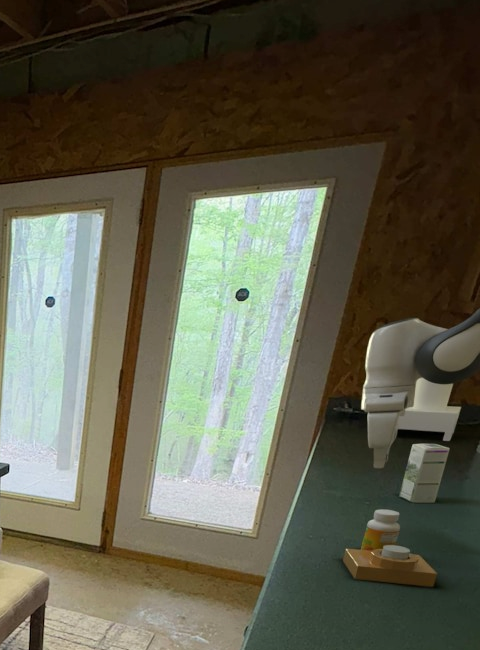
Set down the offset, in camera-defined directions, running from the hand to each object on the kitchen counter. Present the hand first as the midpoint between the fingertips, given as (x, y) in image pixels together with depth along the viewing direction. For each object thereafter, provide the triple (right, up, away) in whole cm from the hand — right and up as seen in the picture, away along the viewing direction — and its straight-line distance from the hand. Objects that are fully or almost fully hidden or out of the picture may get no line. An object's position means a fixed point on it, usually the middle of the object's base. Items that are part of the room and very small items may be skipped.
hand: (380, 464), depth 137 cm
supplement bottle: (-6, -20, -6) cm, 22 cm away
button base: (-12, -24, -15) cm, 31 cm away
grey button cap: (-13, -20, -19) cm, 30 cm away
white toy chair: (+99, +27, +104) cm, 146 cm away
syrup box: (+32, -5, +28) cm, 43 cm away
